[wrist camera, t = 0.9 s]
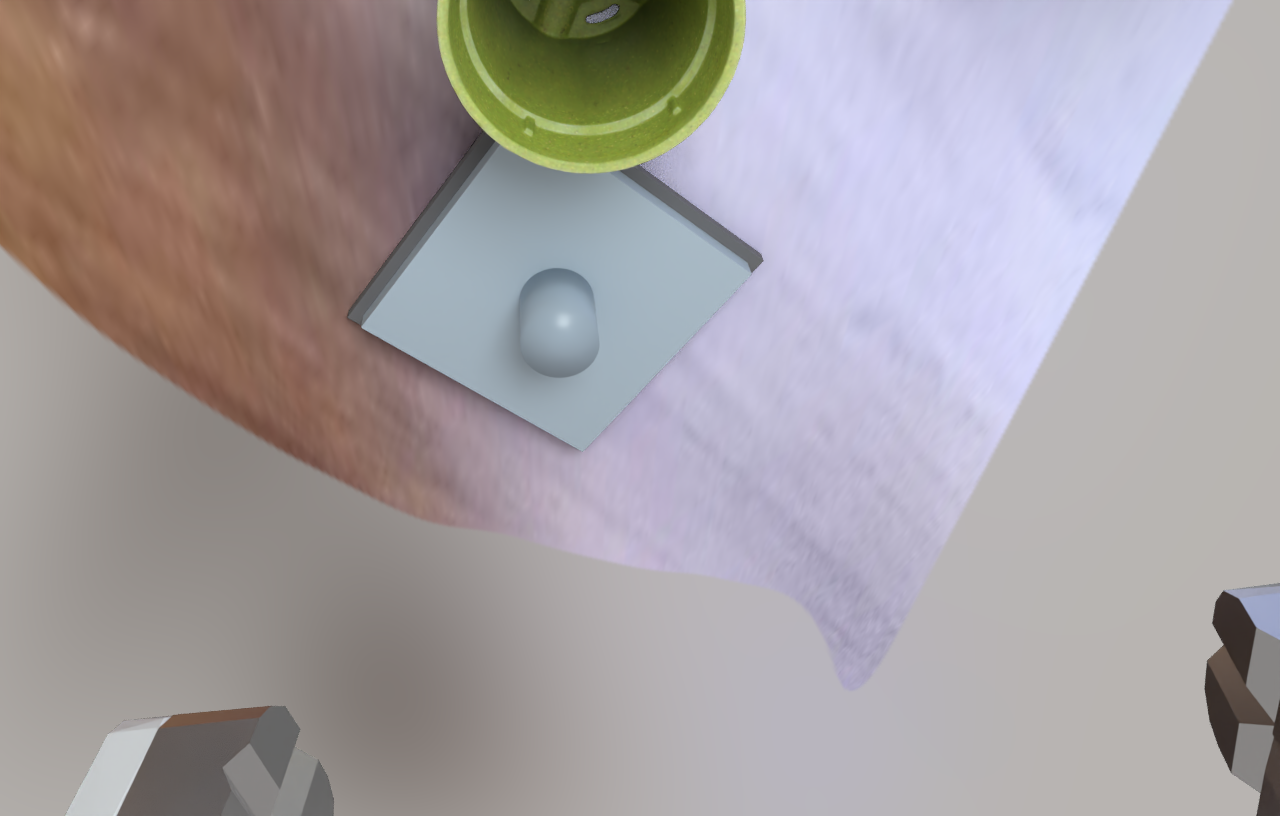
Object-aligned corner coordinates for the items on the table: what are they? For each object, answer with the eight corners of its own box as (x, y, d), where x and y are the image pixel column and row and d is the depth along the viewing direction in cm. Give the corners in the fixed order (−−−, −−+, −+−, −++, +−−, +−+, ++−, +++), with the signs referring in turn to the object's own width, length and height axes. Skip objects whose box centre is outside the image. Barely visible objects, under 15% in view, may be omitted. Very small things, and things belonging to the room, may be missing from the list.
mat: (349, 310, 48) (347, 317, 47) (521, 79, 42) (521, 85, 42) (582, 442, 53) (583, 450, 53) (760, 254, 48) (763, 260, 48)
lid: (363, 315, 47) (351, 374, 44) (524, 102, 42) (525, 149, 39) (581, 439, 52) (587, 500, 49) (747, 262, 48) (766, 316, 44)
